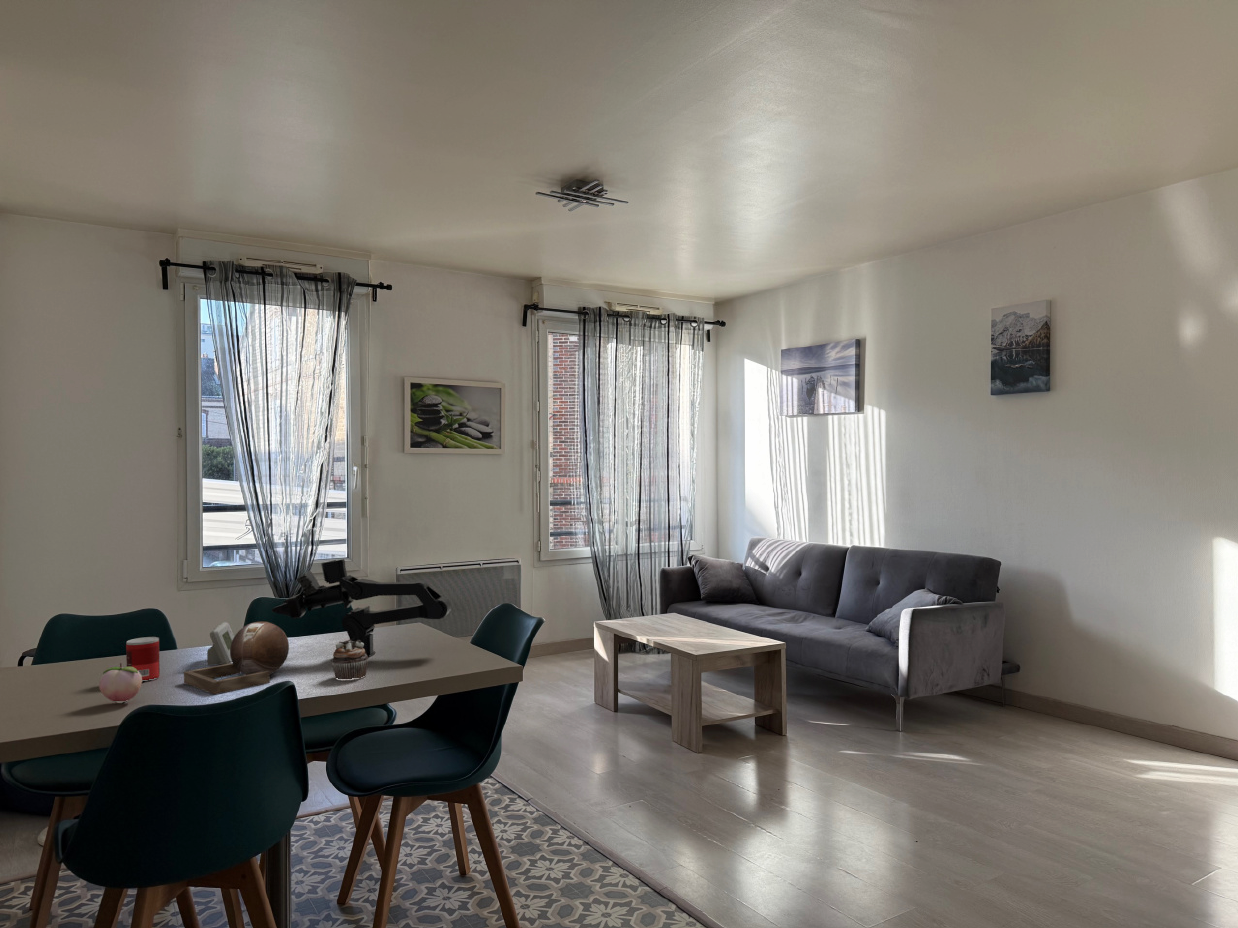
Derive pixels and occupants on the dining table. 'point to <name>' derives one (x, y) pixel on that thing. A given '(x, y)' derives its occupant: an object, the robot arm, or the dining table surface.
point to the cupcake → (350, 660)
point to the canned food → (144, 656)
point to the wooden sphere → (259, 648)
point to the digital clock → (220, 645)
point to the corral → (207, 683)
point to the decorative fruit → (120, 683)
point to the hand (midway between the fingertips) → (278, 606)
